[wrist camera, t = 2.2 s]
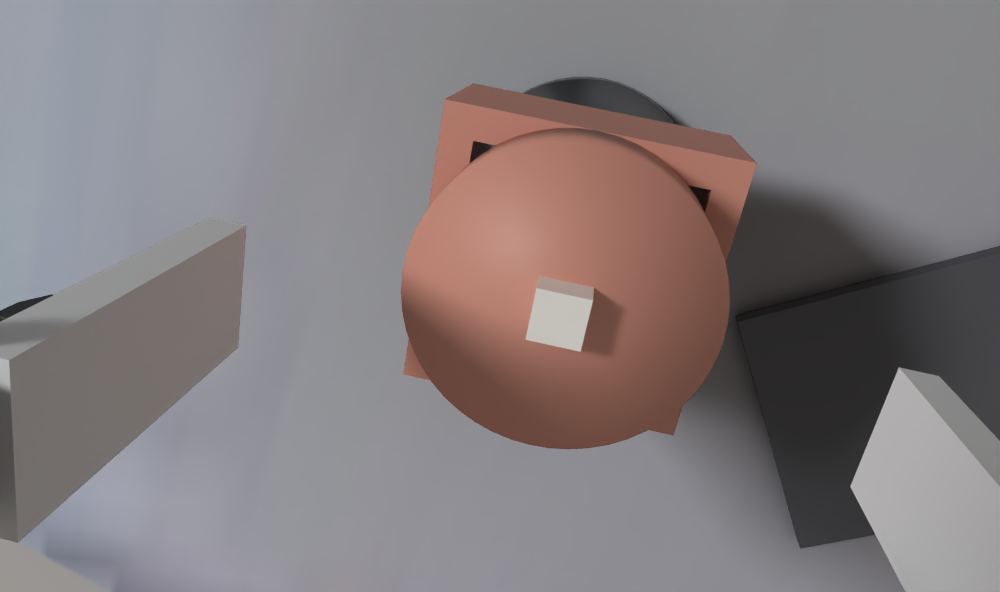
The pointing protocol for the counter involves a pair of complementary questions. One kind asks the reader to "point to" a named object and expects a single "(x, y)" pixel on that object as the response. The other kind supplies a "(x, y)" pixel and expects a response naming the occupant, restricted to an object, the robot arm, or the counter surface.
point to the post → (601, 96)
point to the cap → (571, 267)
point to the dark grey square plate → (866, 374)
